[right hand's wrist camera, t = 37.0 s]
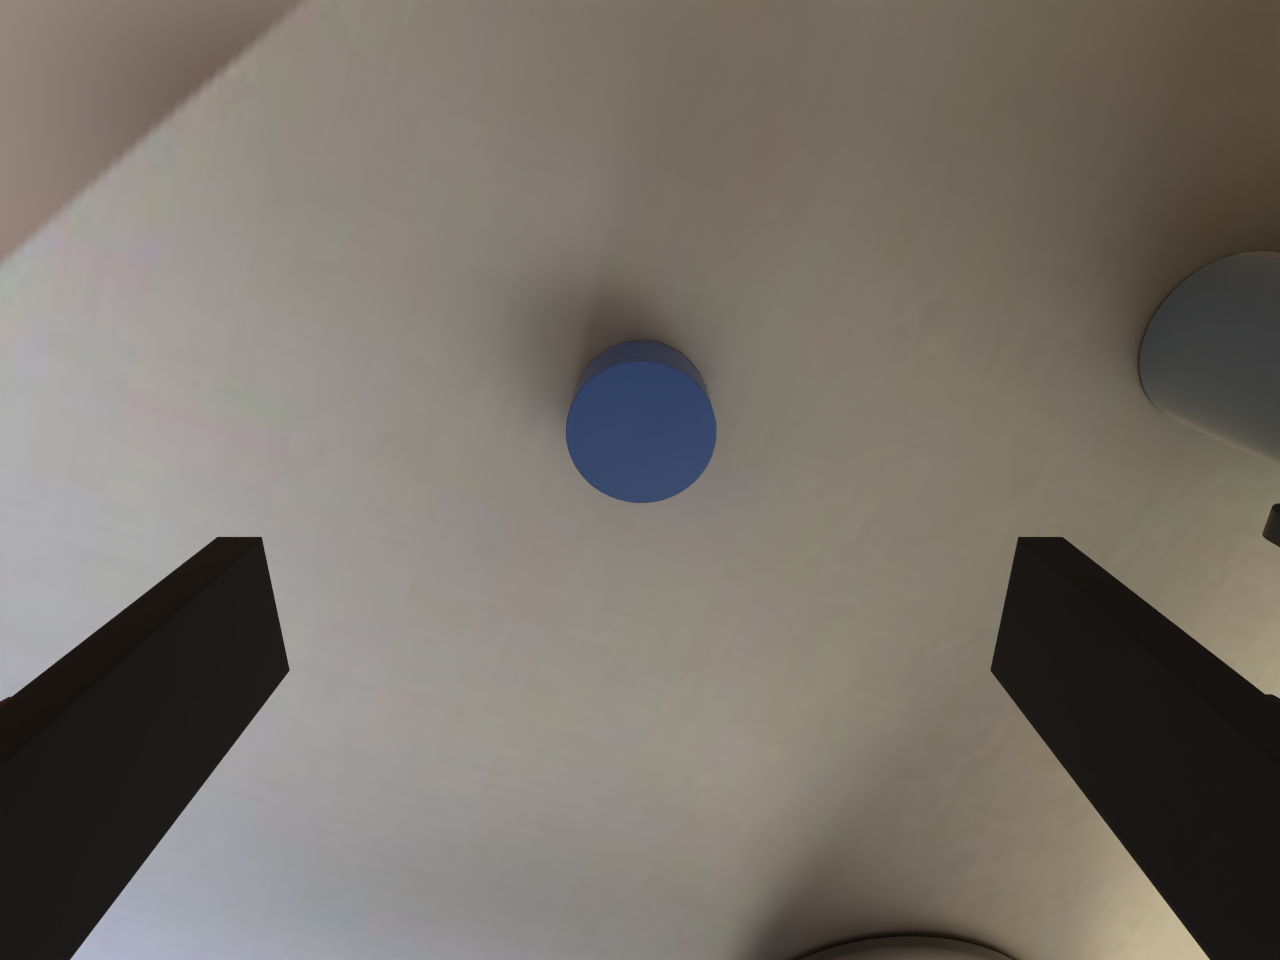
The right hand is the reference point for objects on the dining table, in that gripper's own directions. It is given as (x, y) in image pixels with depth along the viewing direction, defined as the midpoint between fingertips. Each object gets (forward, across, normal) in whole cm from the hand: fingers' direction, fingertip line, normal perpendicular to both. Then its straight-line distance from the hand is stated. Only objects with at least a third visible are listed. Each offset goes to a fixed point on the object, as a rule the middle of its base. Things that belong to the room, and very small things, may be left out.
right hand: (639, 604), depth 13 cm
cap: (+7, 0, +1) cm, 7 cm away
